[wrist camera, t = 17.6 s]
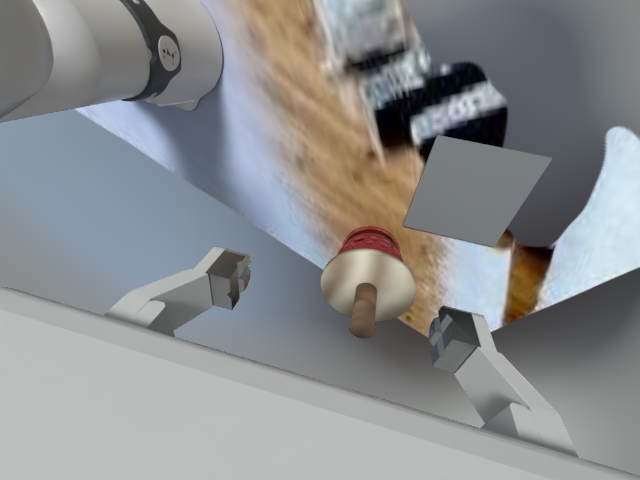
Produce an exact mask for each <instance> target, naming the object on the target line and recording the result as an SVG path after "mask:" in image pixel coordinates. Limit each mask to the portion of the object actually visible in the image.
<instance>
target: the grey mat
mask: <svg viewBox="0 0 640 480" xmlns="http://www.w3.org/2000/svg"><path fill="white" fill-rule="evenodd" d="M551 160H552V158H551V157H546V156H541V155H535V154H530V153H525V152H521V151H516V150H511V149H505V148H501V147H496V146H490V145H485V144H480V143H475V142H470V141H465V140H460V139H455V138H450V137H445V136H440V135H437V136H436V139H435V142H434V144H433V147H432V150H431V152H430V155H429V157H428V160H427V163H426V165H425V168H424V171H423V173H422V176H421V178H420V181H419V184H418V186H417V189H416V192H415V194H414V197H413V199H412V202H411V205H410V207H409V210H408V213H407V215H406V218H405V220H404V223H403V226H405V227H410V228H414V229H418V230H423V231H427V232H431V233H436V234H440V235H444V236H448V237H453V238H457V239H461V240H466V241H470V242H474V243H479V244H483V245H487V246H491V247H494V246H495V245H496V243H497V242H498V240H499V239H500V237H501V236H502V234H503V233H504V231H505V229H506V228H507V226H508V225H509V223H510V222H511V220H512V219H513V217H514V216H515V214H516V213H517V211H518V210H519V208H520V207H521V205H522V204H523V202H524V201H525V199H526V198H527V196H528V195H529V193H530V192H531V190H532V189H533V187H534V185H535V184H536V182H537V181H538V179H539V178H540V176H541V175H542V173H543V172H544V170H545V169H546V167H547V166H548V164H549V163H550V161H551Z"/></svg>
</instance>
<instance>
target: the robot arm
mask: <svg viewBox="0 0 640 480" xmlns="http://www.w3.org/2000/svg"><path fill="white" fill-rule="evenodd" d="M222 60H223V57H222V47H221V42H220V38H219V34H218V31H217V29H216V26H215V24H214V22H213V20H212V18H211V16H210V15H209V13H208V12H207V10H206V9H205V7H204V6H203V5H202V4H201V3H200V1H199V0H0V123H1V122H7V121H12V120H17V119H22V118H27V117H32V116H38V115H43V114H48V113H53V112H58V111H64V110H69V109H74V108H80V107H85V106H90V105H96V104H101V103H106V102H111V101H117V100H122V101H143V100H144V101H145V102H146V103H156V104H157V106H168V105H174V106H176V107H178V108H181V109H183V110H186V111H192V110H194V109H195V108H196V106H197V104H198V102H199V100H200V98H201V97H203V96H204V95H206V94H207V93H209V92H210V91H211V90H212V89H213V88H214V87H215V85H216V84H217V82H218V80H219V77H220V74H221V70H222ZM249 263H250V256H249V255H246V254H243V253H239V252H236V251H232V250H229V249H224V248H221V247H217V246H216V247H213V248H212V249H211V250H210V251H209V252H208V253H207V255H206V256H205V257H204V258H203V259H202V260H201V261H200V262H199V263H198V264H197V265H196V267H195V268H194V269H193V270H191V269H188V270H185V271H183V272H180V273H177V274H175V275H172V276H169V277H167V278H164V279H162V280H159V281H156V282H154V283H151V284H148V285H146V286H143V287H141V288H138V289H135V290H133V291H130V292H129V293H128V294H126V295H125V296H124V297H123V298H122V299H121V300H120V301H119V302H118V303H117V304H115V306H113V307H112V308H111V309H110V310H109V311H108V312H107V313H106V314H105V315H99V314H96V313H93V312H90V311H86V310H83V309H79V308H76V307H73V306H69V305H66V304H63V303H60V302H56V301H53V300H49V299H46V298H43V297H39V296H36V295H33V294H29V293H27V292H23V291H20V290H17V289H13V288H8V287H0V480H640V476H638V475H635V474H632V473H628V472H625V471H622V470H618V469H615V468H612V467H608V466H605V465H602V464H598V463H595V462H592V461H588V460H585V459H581V458H579V457H578V455H577V453H576V451H575V448H574V446H573V444H572V442H571V440H570V438H569V435H568V433H567V431H566V429H565V426H564V424H563V422H562V419H561V417H560V415H559V414H558V413H557V412H556V411H555V410H554V409H553V408H552V407H551V406H550V405H549V404H548V402H546V400H545V399H544V398H543V397H542V396H541V395H540V394H539V393H538V392H537V391H536V390H535V389H534V388H533V387H532V386H531V384H530V383H529V382H528V381H527V380H526V379H525V378H524V377H523V376H522V375H521V374H520V373H519V372H518V371H517V370H516V369H515V368H514V366H513V365H512V364H511V363H510V362H509V361H508V360H507V359H506V358H505V357H504V356H503V355H502V354H501V353H498V352H497V351H496V348H495V345H494V342H493V339H492V336H491V333H490V330H489V328H488V325H487V322H486V319H485V317H484V316H483V315H480V314H476V313H472V312H467V311H463V310H459V309H455V308H451V307H447V306H442V307H441V308H440V309H439V311H438V314H439V317H436V318H434V319H433V321H432V323H431V325H430V329H429V340H430V342H431V344H432V345H433V346H434V347H433V348H432V350H431V358H432V366H433V367H436V368H439V369H442V370H446V371H449V372H452V373H455V376H456V378H457V379H458V381H459V383H460V384H461V386H462V387H463V389H464V390H465V392H466V394H467V395H468V397H469V399H470V400H471V402H472V403H473V405H474V406H475V408H476V410H477V411H478V413H479V415H480V416H481V418H482V419H483V421H484V423H485V424H484V425H483V426H482V427H481V428H478V427H475V426H471V425H468V424H465V423H461V422H458V421H455V420H451V419H448V418H445V417H441V416H437V415H434V414H431V413H427V412H424V411H421V410H418V409H414V408H411V407H408V406H404V405H401V404H398V403H394V402H391V401H387V400H384V399H380V398H377V397H374V396H371V395H367V394H364V393H361V392H357V391H354V390H350V389H347V388H344V387H340V386H337V385H333V384H330V383H327V382H324V381H320V380H317V379H314V378H310V377H307V376H304V375H300V374H297V373H294V372H290V371H287V370H284V369H280V368H277V367H273V366H270V365H267V364H263V363H260V362H257V361H254V360H250V359H246V358H243V357H240V356H236V355H233V354H230V353H227V352H223V351H220V350H217V349H213V348H210V347H207V346H203V345H200V344H196V343H193V342H190V341H187V340H183V339H180V338H177V337H175V335H174V332H173V331H174V330H175V329H177V328H178V327H180V326H182V325H183V324H185V323H187V322H188V321H190V320H191V319H193V318H195V317H196V316H198V315H200V314H201V313H203V312H204V311H206V310H208V309H209V308H211V307H212V306H213V305H215V306H218V307H223V308H226V309H230V310H232V309H233V307H234V306H235V305H236V303H237V301H238V300H239V293H240V292H242V291H244V290H245V288H246V287H247V285H248V282H249V279H250V269H249V267H248V265H249Z"/></svg>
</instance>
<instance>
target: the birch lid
mask: <svg viewBox="0 0 640 480" xmlns="http://www.w3.org/2000/svg"><path fill="white" fill-rule="evenodd" d="M321 289H322V292H323V295H324V297H325V299H326V300H327V301H328V303H329V304H330V305H331V306H332V307H333V308H335V309H336V310H337V311H339V312H340V313H342V314H344V315H346V316H348V317H350V318H351V323H350V332H351V333H352V334H353V335H354V336H356V337H359V338H369V337H372V336H373V335H374V329H375V322H378V321H386V320H390V319H393V318H396V317H398V316H400V315H402V314H403V313H404V312H406V311H407V310H408V309H409V308H410V307H411V305H412V304H413V302H414V299H415V295H416V287H415V280H414V277H413V274H412V273H411V271H410V269H409V268H408V267H407V266H406V265H405V264H404V263H403V262H402V261H401V260H399V259H398V258H396V257H395V256H393V255H391V254H389V253H386V252H383V251H380V250H375V249H353V250H348V251H345V252H342V253H340V254H338V255H337V256H335V257H334V258H332V259H331V260H330V261H329V262H328V264H327V265H326V267H325V269H324V272H323V274H322V278H321Z"/></svg>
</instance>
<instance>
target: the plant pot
mask: <svg viewBox="0 0 640 480" xmlns="http://www.w3.org/2000/svg"><path fill="white" fill-rule="evenodd" d="M353 249H375V250H380V251H383V252H386V253H389V254H391V255H393V256H395V257H396V258H398V259H399V260H401V261H402V262H403V260H402V257H401V254H400V248H399V245H398V242H397V241H396V239H395V238H394V237H393V236H392V235H391V234H390V233H389V232H387V231H386V230H384V229H381V228H378V227H371V226H368V227H361V228H358V229H356V230H354V231H352V232H351V233H350V234H349V235H348V236H347V237H346V239H345V240H344V243H343V247H342V248H341V249H340V251H339V253H338V254H340V253H342V252H345V251H348V250H353ZM338 254H337V255H338Z"/></svg>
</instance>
